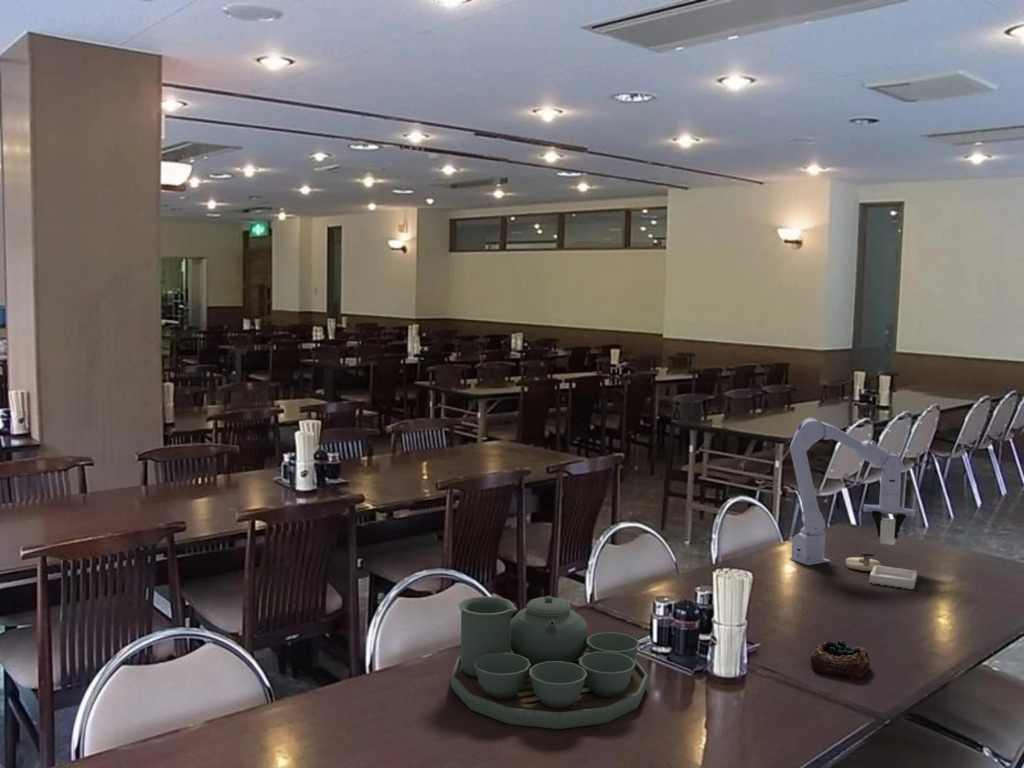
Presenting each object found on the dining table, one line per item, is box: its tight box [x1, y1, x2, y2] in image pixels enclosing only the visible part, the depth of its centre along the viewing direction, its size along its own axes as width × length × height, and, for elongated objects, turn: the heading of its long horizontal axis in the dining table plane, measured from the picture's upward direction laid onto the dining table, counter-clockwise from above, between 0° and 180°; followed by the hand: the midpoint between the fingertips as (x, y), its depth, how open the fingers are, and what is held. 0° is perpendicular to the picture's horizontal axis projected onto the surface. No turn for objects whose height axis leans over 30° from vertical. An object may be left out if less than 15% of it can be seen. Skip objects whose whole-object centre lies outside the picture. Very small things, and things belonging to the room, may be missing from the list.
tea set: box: [450, 595, 649, 730], centre depth 188 cm, size 40×40×16 cm
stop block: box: [879, 517, 896, 546], centre depth 279 cm, size 4×4×7 cm
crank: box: [844, 551, 882, 572], centre depth 278 cm, size 10×10×5 cm
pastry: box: [810, 640, 871, 681], centre depth 200 cm, size 11×12×6 cm
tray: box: [869, 565, 918, 590], centre depth 264 cm, size 12×12×2 cm
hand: (887, 537), depth 279 cm, fingers closed on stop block, 4 cm apart
